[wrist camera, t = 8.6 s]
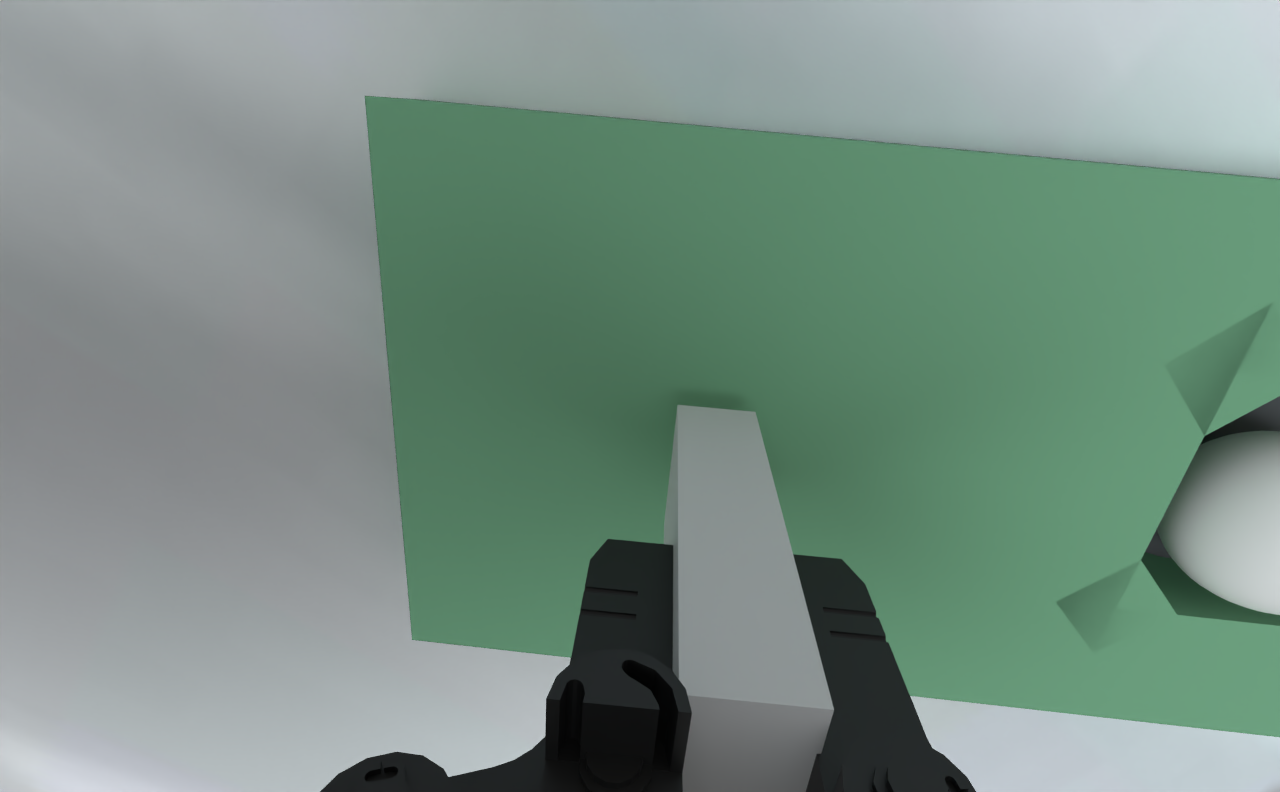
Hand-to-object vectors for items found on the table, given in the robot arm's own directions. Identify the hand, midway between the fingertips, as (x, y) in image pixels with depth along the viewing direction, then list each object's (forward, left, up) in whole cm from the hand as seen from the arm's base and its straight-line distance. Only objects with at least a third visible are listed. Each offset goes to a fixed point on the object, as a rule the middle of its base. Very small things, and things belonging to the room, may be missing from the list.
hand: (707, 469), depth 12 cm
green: (+7, 0, -4) cm, 8 cm away
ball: (+13, -1, -2) cm, 13 cm away
